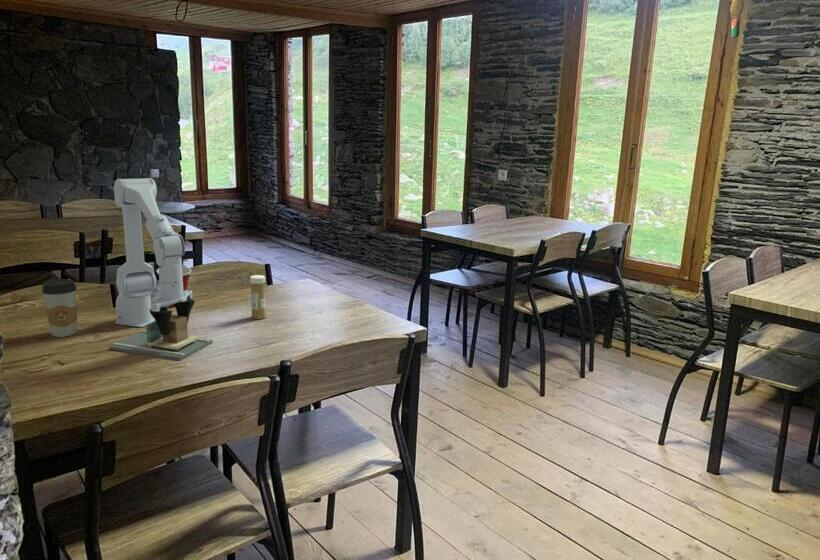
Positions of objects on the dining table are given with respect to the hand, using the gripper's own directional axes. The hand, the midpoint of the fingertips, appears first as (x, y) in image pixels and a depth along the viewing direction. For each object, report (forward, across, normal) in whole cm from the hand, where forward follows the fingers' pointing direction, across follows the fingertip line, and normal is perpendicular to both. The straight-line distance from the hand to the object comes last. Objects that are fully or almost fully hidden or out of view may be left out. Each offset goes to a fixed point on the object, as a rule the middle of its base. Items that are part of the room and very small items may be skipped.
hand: (174, 329), depth 163 cm
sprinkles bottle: (+5, +32, -7) cm, 33 cm away
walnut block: (+3, 0, 0) cm, 3 cm away
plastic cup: (+5, +34, +25) cm, 43 cm away
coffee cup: (+5, -2, +35) cm, 36 cm away
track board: (+5, 0, +4) cm, 7 cm away
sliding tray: (+5, 0, 0) cm, 5 cm away
